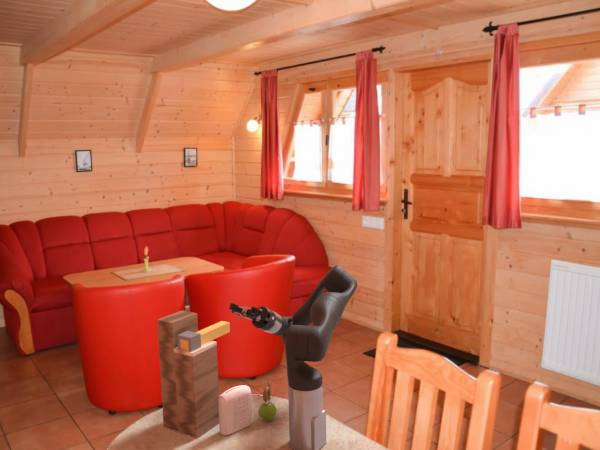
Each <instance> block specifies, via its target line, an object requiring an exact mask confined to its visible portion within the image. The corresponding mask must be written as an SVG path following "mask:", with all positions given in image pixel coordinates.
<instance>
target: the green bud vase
mask: <svg viewBox="0 0 600 450" xmlns="http://www.w3.org/2000/svg"><path fill="white" fill-rule="evenodd" d="M267 379H269V380H267V382H266V385H267V386H265V387H264V388H263V392H262V399H263V401H264V402H262V403H261V404H260V405H259V407H258V416H259V418H260V419H261V420H263V421H265V422H270V421H272V420H273V419H274V418H275V417H276V415H277V412H278V411H277V410H278V409H277V407H276V405H275V404H274V403H273V402H271V397H272V395H271V394H272V381H271V380H272V376H267Z"/></svg>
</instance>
